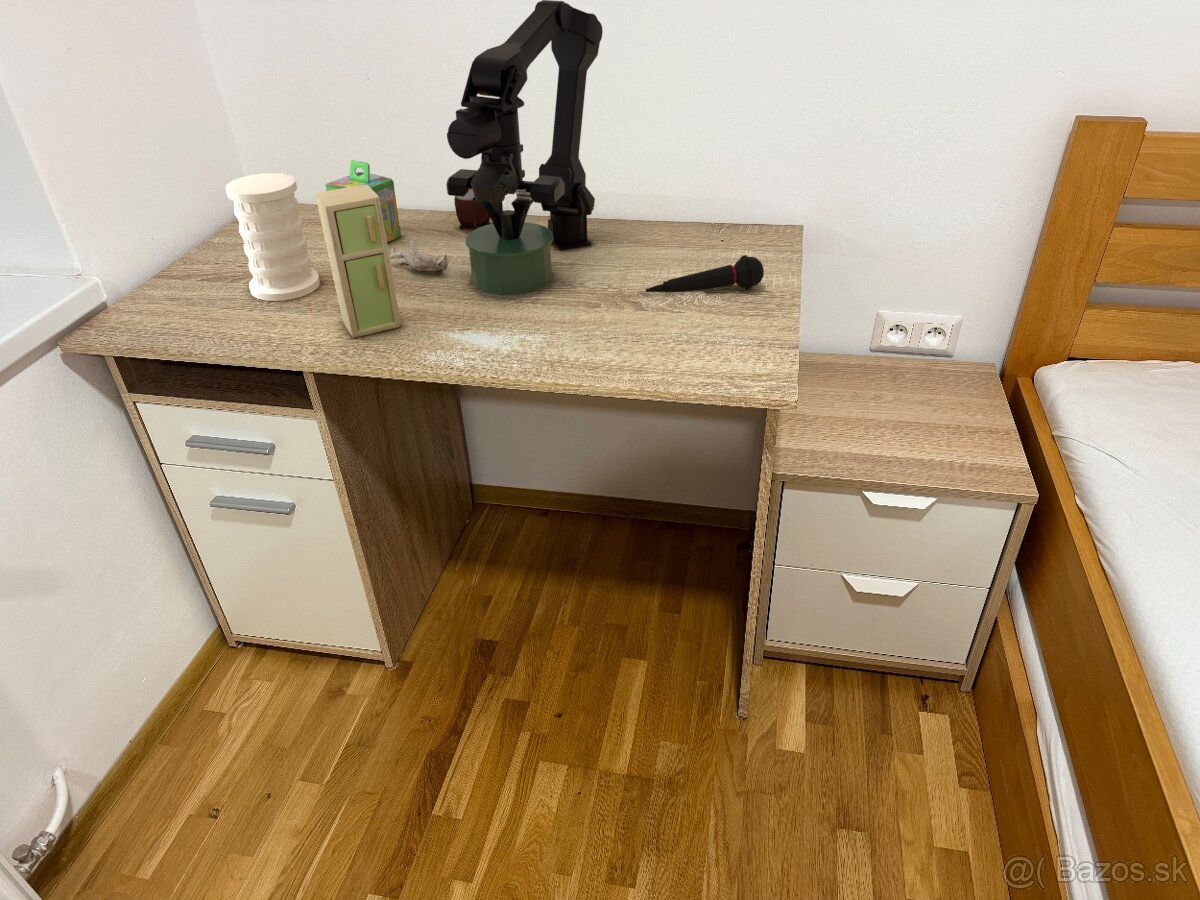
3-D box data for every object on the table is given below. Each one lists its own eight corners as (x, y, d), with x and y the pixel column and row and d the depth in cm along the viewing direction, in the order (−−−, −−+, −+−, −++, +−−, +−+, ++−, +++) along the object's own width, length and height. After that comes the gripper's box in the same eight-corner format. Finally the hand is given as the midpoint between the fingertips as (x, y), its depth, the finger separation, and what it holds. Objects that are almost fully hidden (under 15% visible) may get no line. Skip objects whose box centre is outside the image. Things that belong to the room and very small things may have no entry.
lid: (534, 222, 154) (532, 192, 151) (567, 250, 143) (566, 219, 140) (454, 236, 149) (451, 206, 146) (482, 266, 138) (479, 234, 135)
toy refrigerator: (352, 341, 133) (325, 207, 121) (341, 322, 138) (314, 192, 126) (403, 329, 136) (381, 197, 124) (390, 311, 141) (368, 183, 129)
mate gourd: (455, 222, 174) (447, 147, 166) (494, 219, 176) (488, 143, 167) (459, 235, 168) (451, 157, 160) (499, 231, 170) (493, 154, 161)
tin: (534, 260, 158) (532, 220, 153) (564, 288, 147) (562, 246, 143) (463, 274, 153) (458, 233, 149) (488, 303, 143) (484, 261, 138)
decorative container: (278, 270, 156) (254, 169, 146) (333, 277, 153) (312, 175, 142) (236, 295, 147) (207, 191, 137) (293, 304, 144) (268, 198, 133)
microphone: (650, 314, 145) (766, 293, 145) (648, 289, 140) (768, 267, 141) (644, 292, 148) (757, 271, 149) (642, 267, 144) (759, 245, 144)
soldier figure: (415, 262, 160) (463, 252, 154) (410, 286, 159) (459, 277, 153) (384, 242, 154) (433, 232, 148) (379, 267, 153) (428, 258, 146)
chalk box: (334, 243, 166) (319, 166, 157) (368, 228, 172) (355, 153, 164) (369, 253, 162) (355, 173, 153) (403, 237, 168) (391, 160, 160)
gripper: (425, 152, 133) (438, 249, 142) (539, 160, 128) (545, 260, 137) (456, 133, 141) (466, 225, 150) (563, 140, 137) (567, 235, 146)
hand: (509, 236), depth 146 cm, fingers open, 3 cm apart
